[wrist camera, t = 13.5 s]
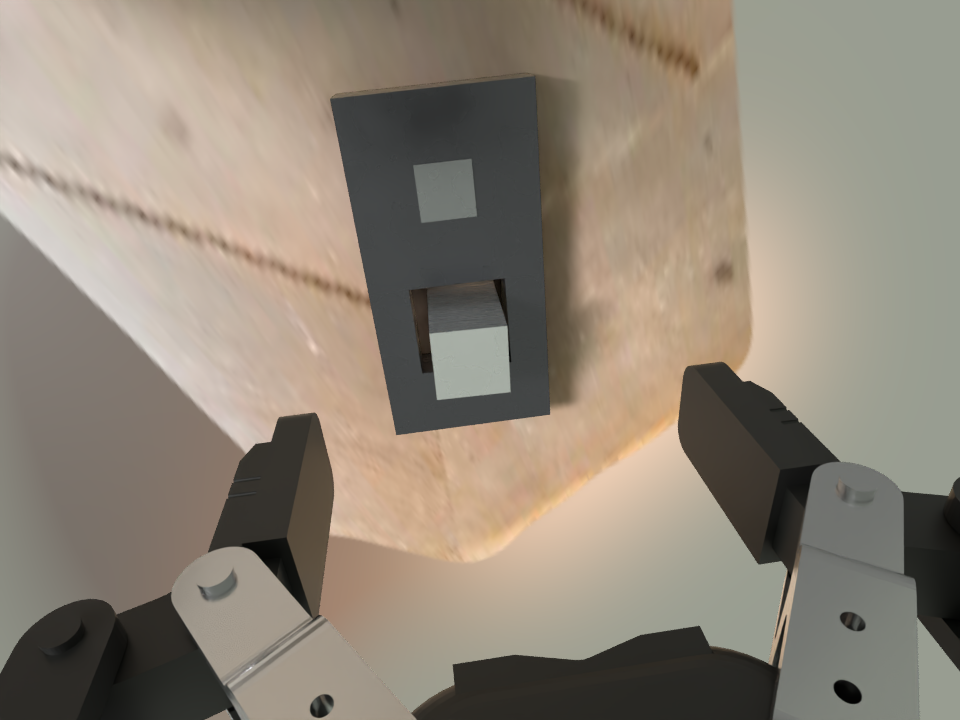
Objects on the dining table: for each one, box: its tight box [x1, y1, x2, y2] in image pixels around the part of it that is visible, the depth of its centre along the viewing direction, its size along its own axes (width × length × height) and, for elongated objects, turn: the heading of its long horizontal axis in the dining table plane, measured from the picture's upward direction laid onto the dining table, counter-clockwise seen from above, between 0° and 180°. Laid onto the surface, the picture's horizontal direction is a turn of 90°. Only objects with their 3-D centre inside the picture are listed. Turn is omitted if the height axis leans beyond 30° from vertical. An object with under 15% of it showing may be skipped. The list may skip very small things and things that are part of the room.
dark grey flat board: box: [330, 73, 550, 435], centre depth 35 cm, size 10×20×3 cm, turn 5°
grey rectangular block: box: [427, 280, 511, 400], centre depth 35 cm, size 4×4×7 cm
